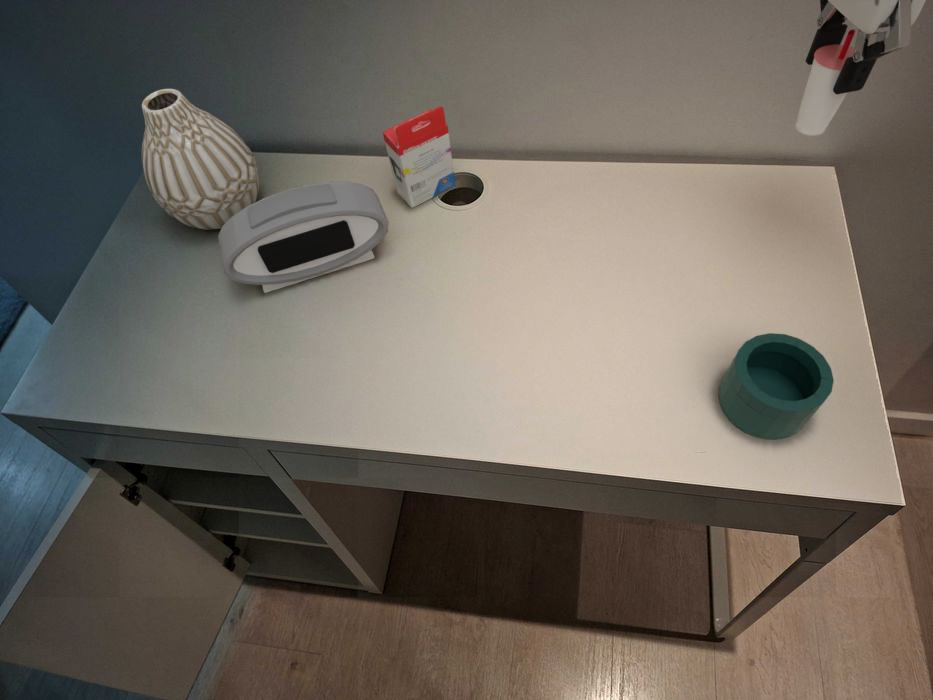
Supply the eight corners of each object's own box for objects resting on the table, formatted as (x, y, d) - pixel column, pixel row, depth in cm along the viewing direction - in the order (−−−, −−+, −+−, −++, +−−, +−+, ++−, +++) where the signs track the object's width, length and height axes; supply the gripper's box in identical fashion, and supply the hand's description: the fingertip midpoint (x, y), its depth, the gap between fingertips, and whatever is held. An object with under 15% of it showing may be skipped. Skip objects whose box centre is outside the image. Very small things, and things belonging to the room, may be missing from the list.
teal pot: (783, 359, 73) (805, 326, 67) (823, 430, 67) (851, 400, 62) (705, 374, 73) (720, 342, 67) (739, 447, 67) (759, 418, 61)
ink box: (440, 170, 98) (428, 88, 86) (456, 186, 95) (446, 104, 83) (395, 193, 96) (376, 112, 83) (411, 210, 93) (393, 129, 81)
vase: (262, 166, 102) (211, 54, 86) (280, 226, 94) (227, 114, 77) (170, 195, 100) (99, 86, 84) (180, 259, 91) (103, 151, 75)
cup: (809, 146, 71) (853, 48, 62) (776, 123, 74) (813, 26, 65) (843, 130, 72) (892, 31, 63) (810, 109, 75) (851, 11, 66)
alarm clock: (243, 304, 85) (203, 241, 75) (238, 274, 89) (198, 210, 78) (397, 255, 88) (379, 188, 77) (386, 228, 91) (368, 160, 81)
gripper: (1023, -87, 48) (908, 113, 63) (900, -153, 58) (826, 33, 73) (934, -71, 48) (839, 126, 63) (826, -140, 58) (766, 44, 73)
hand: (833, 74), depth 68 cm, fingers closed on cup, 5 cm apart
